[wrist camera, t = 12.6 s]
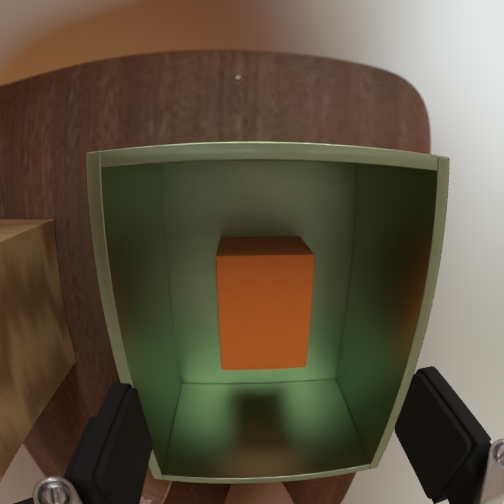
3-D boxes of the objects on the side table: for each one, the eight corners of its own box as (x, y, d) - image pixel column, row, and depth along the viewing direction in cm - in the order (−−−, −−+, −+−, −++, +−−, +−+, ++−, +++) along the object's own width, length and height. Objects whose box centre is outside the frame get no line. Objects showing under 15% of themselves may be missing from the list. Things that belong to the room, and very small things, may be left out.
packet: (220, 237, 20) (215, 255, 16) (300, 236, 20) (315, 254, 16) (223, 336, 22) (221, 370, 18) (295, 334, 22) (306, 367, 18)
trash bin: (176, 383, 23) (154, 479, 14) (154, 154, 19) (85, 152, 9) (339, 378, 24) (377, 467, 15) (362, 155, 19) (450, 157, 10)
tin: (165, 477, 27) (154, 538, 19) (137, 469, 27) (122, 529, 19) (199, 391, 24) (187, 474, 16) (161, 380, 23) (137, 459, 15)
